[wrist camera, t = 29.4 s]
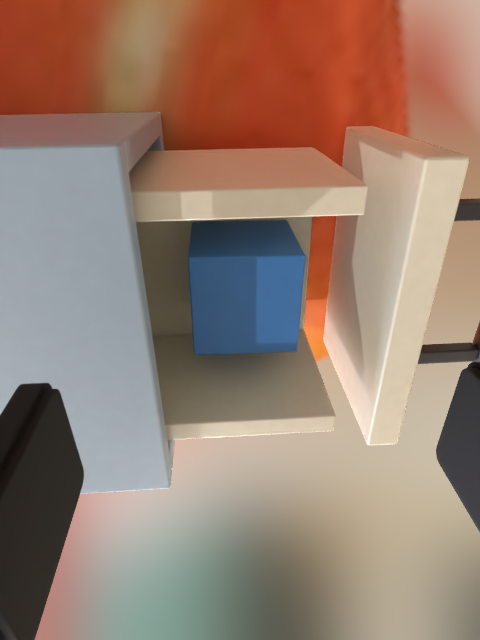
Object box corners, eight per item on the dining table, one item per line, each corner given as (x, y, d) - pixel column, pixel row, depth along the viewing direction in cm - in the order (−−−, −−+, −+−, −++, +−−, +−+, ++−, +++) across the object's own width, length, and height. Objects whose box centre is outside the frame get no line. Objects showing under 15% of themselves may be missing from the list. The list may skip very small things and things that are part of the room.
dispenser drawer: (501, 123, 17) (671, 151, 11) (441, 335, 22) (531, 437, 16) (60, 132, 16) (-34, 168, 10) (107, 350, 22) (65, 464, 15)
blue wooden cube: (192, 220, 17) (187, 257, 14) (287, 219, 17) (306, 255, 14) (196, 305, 19) (193, 355, 16) (282, 303, 19) (297, 352, 16)
